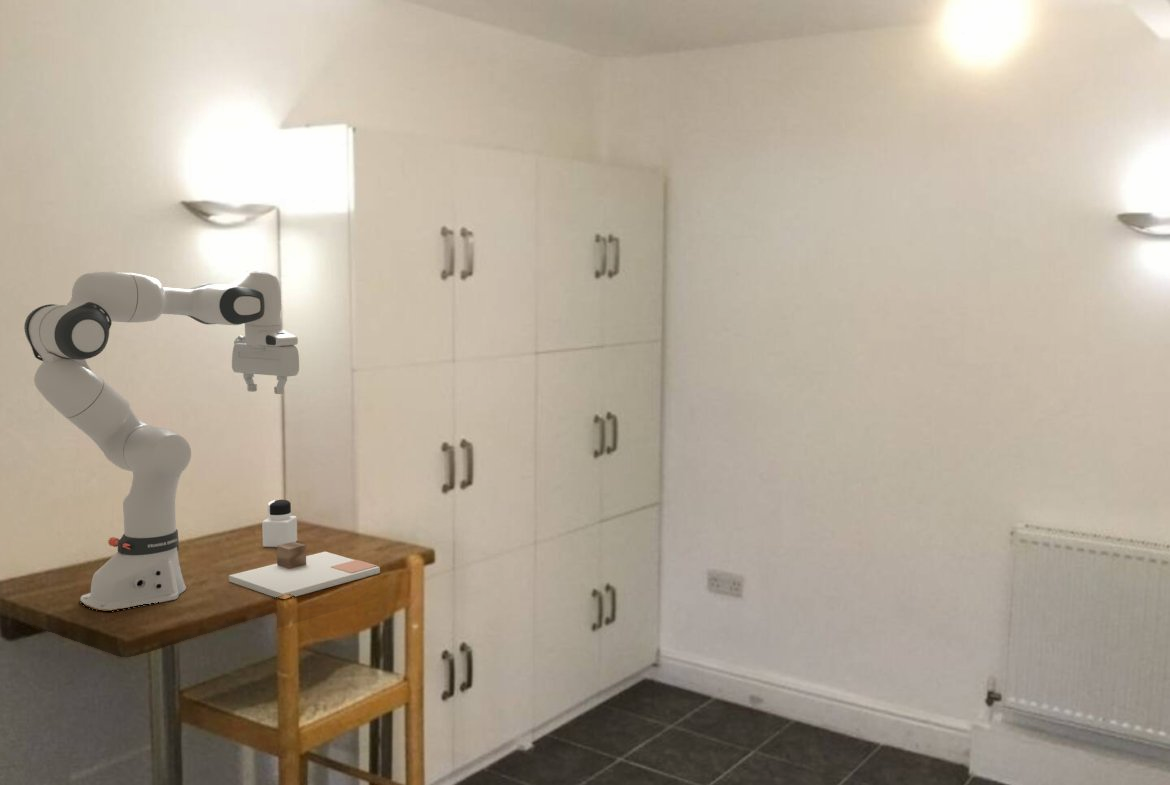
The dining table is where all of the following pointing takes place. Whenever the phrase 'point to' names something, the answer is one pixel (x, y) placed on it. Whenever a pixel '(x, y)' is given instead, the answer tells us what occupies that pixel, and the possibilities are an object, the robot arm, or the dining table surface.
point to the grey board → (305, 575)
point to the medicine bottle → (279, 524)
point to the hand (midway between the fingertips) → (265, 392)
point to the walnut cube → (291, 555)
